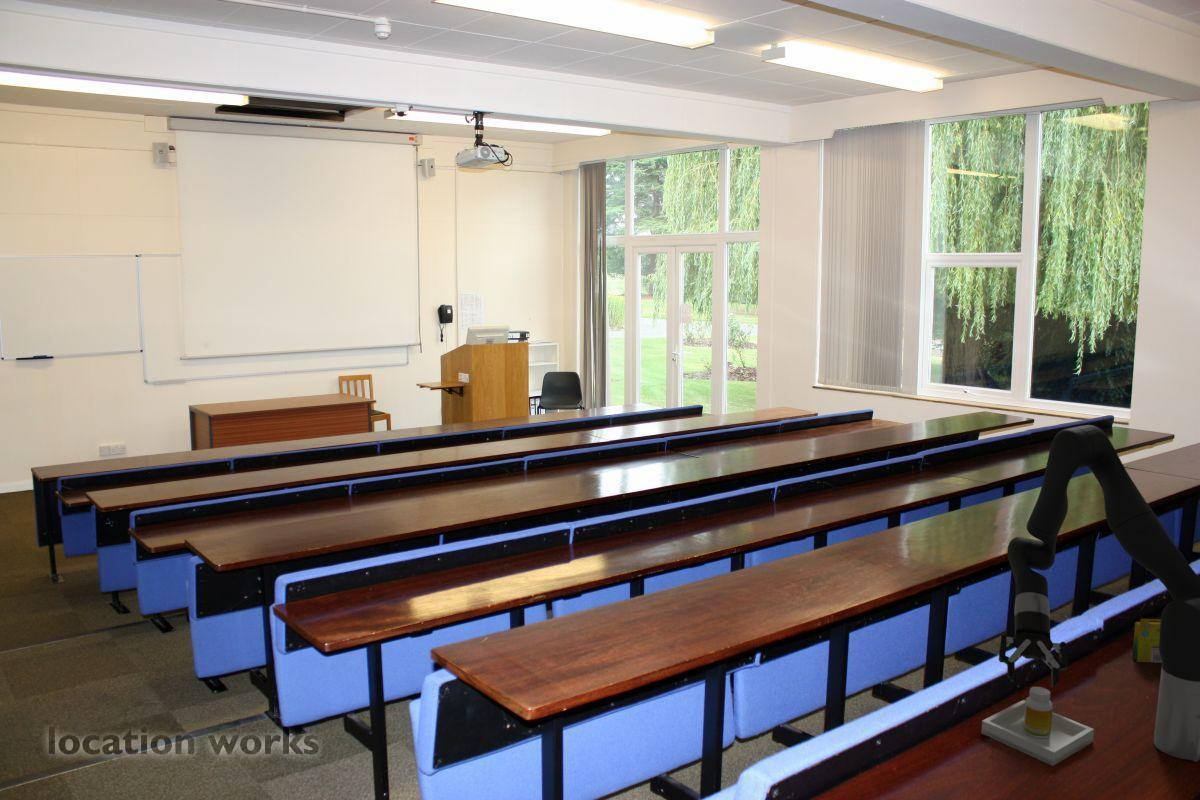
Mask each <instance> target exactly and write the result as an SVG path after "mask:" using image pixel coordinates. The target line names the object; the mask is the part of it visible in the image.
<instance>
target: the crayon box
mask: <svg viewBox="0 0 1200 800" xmlns="http://www.w3.org/2000/svg"><path fill="white" fill-rule="evenodd" d="M1160 622H1161V618H1140V620H1139V621H1135V623H1134V634H1133V645H1132V655H1131V657H1132V659H1133V660H1135V661H1136V663H1159V664H1160V663H1161V664H1162V658H1161V656H1160V652H1159V640H1160Z"/></svg>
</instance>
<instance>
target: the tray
mask: <svg viewBox="0 0 1200 800" xmlns="http://www.w3.org/2000/svg"><path fill="white" fill-rule="evenodd" d="M1025 701H1026V700H1025V699H1022V700H1021V701H1019V702H1018V701H1017V702H1016V703H1014V704H1012V705H1011V706H1008V707H1007V708H1004V709H1002V710H1001V711H999V712H997V713H995V714H992V715H991V716H989V717H987V718H985V719H983V720H982V721H981V732H980V733H981V734H982V735H984V736H986V737H988V736H989V737H988V738H990V737H991V739H992V738H993V740H995V741H997V742H999V743H1001V744H1003V745H1005V744H1006V746H1008V747H1010V748H1011V749H1015V750H1017V751H1018V752H1021V753H1023V754H1025V755H1028V756H1030V757H1032V758H1034V759H1036V760H1039V761H1041V762H1043V763H1045V764H1047V765H1049V766H1051V767H1054V766H1055V765H1057V764H1058V763H1061V762H1062V761H1064V760H1065V759H1068V758H1069V757H1071V756H1072V755H1074V754H1076V753H1077V752H1079V751H1081V750H1082V749H1084V748H1086V747H1088V746H1089V745H1090V744H1092V743H1093V742H1094V735H1095V734H1094V731H1095V729H1094V728H1092V727H1090V726H1087V725H1085V724H1082V723H1080V722H1078V721H1075V720H1073V719H1070V718H1068V717H1065V716H1062V715H1061V714H1059V713H1056V712H1054V711H1052V723H1051V734H1050V736H1049V737H1048V738H1044V739H1040V738H1034V737H1031V736H1029V735H1027V734H1026V733H1025V732H1024V730H1023V723H1024V712H1025Z"/></svg>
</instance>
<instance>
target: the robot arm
mask: <svg viewBox="0 0 1200 800" xmlns="http://www.w3.org/2000/svg"><path fill="white" fill-rule="evenodd" d="M1048 453H1049V454H1048V458H1047V462H1046V466H1045V471H1044V474H1043V475H1044V476H1043V479H1042V483H1041V484H1042V485H1041V488H1040V491H1039V494H1038V496H1037V500H1036V503H1035V505H1034V506H1033V509H1032V511H1031V514H1030V516H1029V518H1028V520H1027V523H1026V530H1027V532H1028V533H1029V535H1031V536H1032V537H1034V538H1035V539H1033V538H1028V537H1024V536H1023V537H1022V536H1016V537H1014V538H1012V539H1011V540H1010V541H1009V543H1008V546H1007V550H1006V551H1007V552H1006V553H1007V559H1008V562H1009V565H1010V567H1011V570H1012V574H1013V579H1014V581H1015V600H1014V601H1015V602H1014V612H1013V615H1014V636H1013V637H1011V636H1007V635H1006V633H1005V634H1004V633H1003V634H1001V635H1000V640H999V648H998V649H999V651H998V662H1000V663H1003V664H1005V665H1006V666H1007V670H1006V671H1007V673H1006V674H1007V679H1009V680H1010V682H1011V683H1013V682H1015V679H1016V675H1015V673H1016V670H1015V669H1016V668H1015V666H1016V662H1017V661H1019V660H1020V659H1021V657H1023V658H1024V659H1026V660H1029V659H1033V660H1036V661H1040V660H1042V661H1043V662H1044V663H1045V664H1046V665H1047V666H1048V667H1049V669H1051V672H1050V673H1051V674H1050V676H1051V677H1050V678H1051V681H1050V682H1051V689H1052V688H1054V689H1055V688H1057V686H1059V684H1060V672H1062V671H1063V672H1065V671H1067V669H1068V667H1069V658H1068V650H1067V643H1066V642H1065V641H1061V642H1059V643H1058V642H1053V641H1052V640H1051V615H1050V614H1051V611H1050V610H1051V608H1050V604H1049V583H1048V579H1047V578H1046V576H1044V575H1043V574H1041V573H1039V572H1037V571H1038V570H1039V571H1044V572H1045V571H1047V570H1050V568H1052V567H1053V566H1054V564H1055V559H1056V547H1057V546H1056V545H1057V539H1058V535H1059V534H1060V531H1061V528H1062V526H1063V525H1064V521H1065V519H1066V517H1067V515H1068V511H1069V500H1068V487H1069V484H1070V481H1071V479H1072V477H1073V476H1074V474H1075V472H1077V470H1078V469H1081V468H1085V467H1088V468H1089V470H1090V471H1091V472H1092V474H1093V476H1094V477H1095V479H1096V480H1097V482H1098V484H1099V485H1100V488H1101V490H1102V493H1103V494H1102V495H1103V500H1104V502H1103V503H1104V512H1105V513H1104V514H1105V519H1106V522H1107V524H1108V527H1109V529H1110V531H1111V533H1112V534H1113V536H1114V537H1115V539H1116V540H1117V542H1118V543H1119V544H1120V546H1121V547H1122V549H1123V550H1124V551H1125V553H1126V554H1127V555H1128V556H1130V557H1131V558H1132V560H1134V561H1135V562H1136V563H1138V564H1139V565H1140V566H1142V568H1144V569H1146V570H1147V571H1148V572H1150V573H1151V574H1152V575H1153V576H1154V577H1156V578H1157V579H1158V580H1159V581H1160V582H1161V584H1162V585H1163V586H1164V587H1165V588H1166V590H1167V591H1168V593H1169V594H1170V596H1171V598H1172V599H1173V600H1171V601H1169V602H1168V603H1167V604H1166V605H1165V606H1164V608H1163V610H1162V612H1161V615H1160V616H1161V617H1160V619H1161V622H1159V623H1160V640H1159V652H1160V656H1161V658H1162V663H1161V669H1160V670H1161V671H1160V680H1159V688H1158V698H1157V707H1156V716H1155V726H1154V732H1153V733H1154V734H1153V736H1154V737H1153V745H1154V746H1155V748H1157V749H1158V750H1159V751H1160V752H1163V754H1166V755H1169V756H1171V757H1174V758H1178V759H1182V760H1189V761H1192V762H1193V763H1194V762H1195V763H1198V762H1199V761H1200V577H1199V575H1198V574H1197V573H1196V571H1194V569H1193V568H1192V567H1191V565H1190V564H1189V562H1188V561H1187V559H1186V558H1185V556H1184V555H1183V553H1182V552H1181V551H1180V549H1179V548H1178V547H1177V545H1176V544H1175V542H1174V540H1173V539H1172V537H1171V536H1170V535H1169V533H1168V532H1167V530H1166V528H1165V527H1164V525H1163V524H1162V522H1161V521H1160V519H1159V518H1158V516H1157V515H1156V513H1155V512H1154V510H1153V509H1152V508H1151V506H1150V505H1149V504H1148V502H1147V501H1146V500H1145V498H1144V496H1143V494H1142V493H1141V491H1140V490H1139V488H1138V487H1137V486H1136V484H1135V482H1134V481H1133V480H1132V478H1131V476H1130V474H1129V473H1128V471H1127V469H1126V468H1125V466H1124V464H1123V462H1122V460H1121V458H1120V457H1119V455H1118V453H1117V451H1116V449H1115V447H1114V445H1113V443H1112V442H1111V440H1110V438H1109V437H1108V435H1107V434H1106V433H1105V432H1104V430H1102V429H1101V428H1100V427H1098V426H1096V425H1094V424H1086V425H1085V424H1084V425H1078V426H1074V427H1069V428H1064V429H1062V430H1060V431H1058V432H1057V433H1055V436H1054V437H1053V439H1052V442H1051V445H1050V447H1049V452H1048ZM1035 570H1037V571H1035ZM1011 644H1012V645H1013V646H1014V648H1016V650H1015V651H1013V653H1012V654H1011V655H1010V656H1007V655H1006V653H1007V648H1008V647H1010V645H1011ZM1052 649H1054V650H1055V652H1056V653H1057V654H1059V655H1058V656H1059V663H1058V661H1057V660H1056V659H1055V658H1054V655H1053V654H1052V652H1051V650H1052Z"/></svg>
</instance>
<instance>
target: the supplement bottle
mask: <svg viewBox="0 0 1200 800" xmlns="http://www.w3.org/2000/svg"><path fill="white" fill-rule="evenodd" d="M1028 695H1029V696H1027V697H1026V698H1025V700H1024V701H1025V712H1024V723H1023V730H1024V732H1025V733H1026V734H1027V735H1029V736H1031V737H1034V738H1040V739H1044V738H1048V737H1049V736H1050V734H1051V723H1052V712H1054V711H1053V710H1054V709H1053V707H1054V705H1053V702H1052V701H1051V691H1050V690H1049V689H1047V688H1045V687H1042V686H1032V687H1030V689H1029V694H1028Z"/></svg>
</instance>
